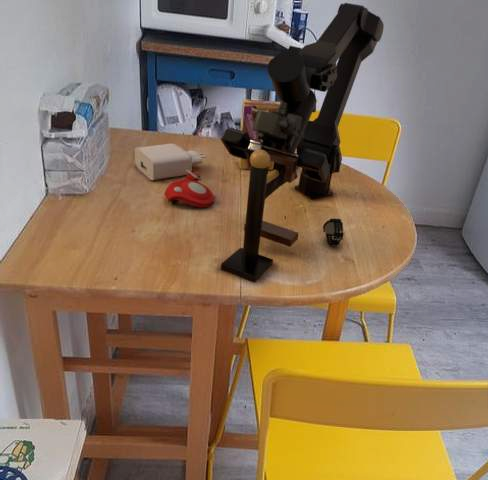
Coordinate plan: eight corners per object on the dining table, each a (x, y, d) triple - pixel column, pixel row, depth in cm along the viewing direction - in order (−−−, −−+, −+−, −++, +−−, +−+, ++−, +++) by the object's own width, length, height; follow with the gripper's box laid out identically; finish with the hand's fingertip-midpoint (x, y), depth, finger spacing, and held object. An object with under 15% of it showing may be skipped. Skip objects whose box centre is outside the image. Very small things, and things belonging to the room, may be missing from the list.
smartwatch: (343, 240, 95) (348, 216, 92) (339, 253, 91) (344, 229, 88) (321, 235, 96) (326, 212, 93) (317, 248, 91) (322, 224, 89)
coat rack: (250, 243, 90) (261, 134, 79) (282, 255, 88) (298, 144, 77) (220, 269, 82) (228, 152, 71) (254, 283, 80) (268, 163, 69)
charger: (214, 172, 115) (153, 182, 107) (194, 158, 121) (135, 166, 112) (215, 152, 112) (152, 161, 104) (194, 138, 118) (134, 146, 110)
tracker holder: (224, 201, 100) (179, 197, 94) (216, 218, 103) (172, 215, 97) (200, 165, 107) (157, 160, 101) (193, 182, 109) (151, 178, 103)
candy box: (273, 163, 123) (280, 100, 115) (276, 170, 120) (284, 106, 111) (237, 162, 121) (242, 98, 113) (239, 169, 118) (244, 103, 109)
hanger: (252, 224, 90) (260, 146, 82) (297, 239, 87) (310, 160, 79) (243, 230, 87) (251, 151, 79) (290, 247, 85) (302, 166, 77)
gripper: (229, 77, 81) (189, 161, 79) (336, 103, 76) (296, 194, 73) (248, 116, 92) (213, 191, 89) (343, 141, 86) (309, 222, 84)
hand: (255, 198), depth 84 cm, fingers closed on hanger, 2 cm apart
